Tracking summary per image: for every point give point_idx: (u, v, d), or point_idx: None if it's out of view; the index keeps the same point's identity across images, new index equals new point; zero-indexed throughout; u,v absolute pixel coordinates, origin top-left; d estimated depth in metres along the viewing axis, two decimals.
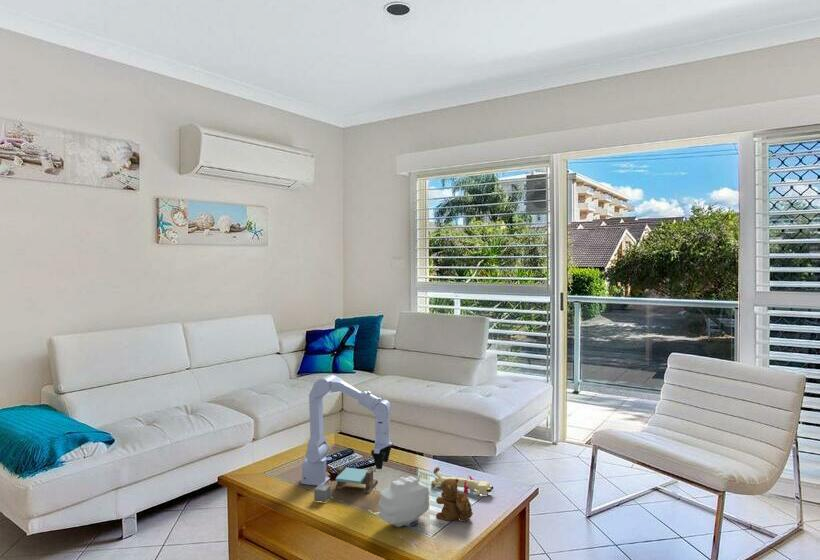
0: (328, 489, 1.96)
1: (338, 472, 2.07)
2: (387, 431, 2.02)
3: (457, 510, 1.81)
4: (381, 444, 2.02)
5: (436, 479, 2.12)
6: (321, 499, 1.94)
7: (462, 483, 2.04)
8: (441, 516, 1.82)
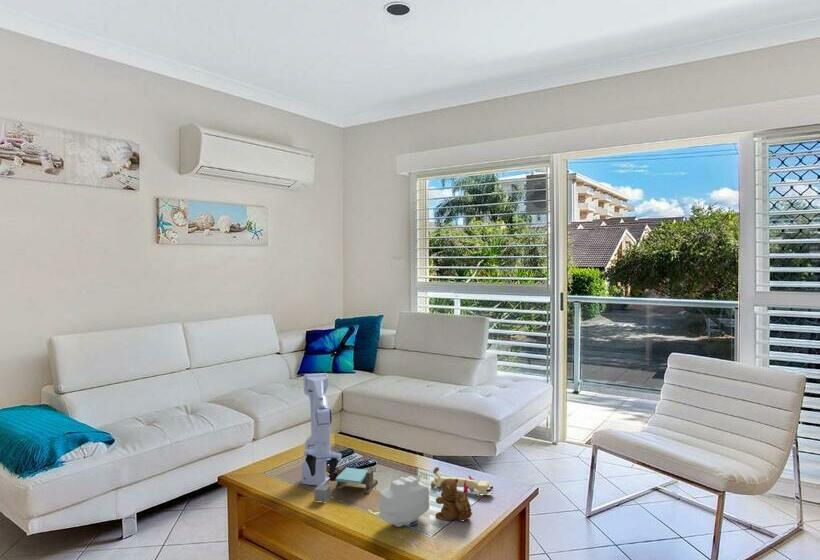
0: (328, 489, 1.96)
1: (338, 472, 2.07)
2: (320, 441, 1.93)
3: (456, 510, 1.81)
4: (315, 451, 1.96)
5: (436, 479, 2.12)
6: (321, 499, 1.94)
7: (462, 483, 2.04)
8: (440, 516, 1.83)
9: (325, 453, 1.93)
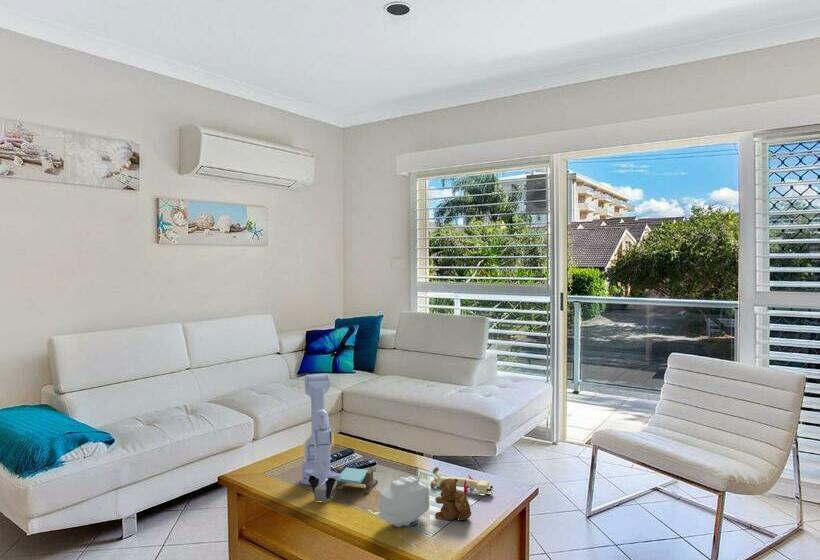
0: None
1: (338, 472, 2.07)
2: (319, 462, 1.93)
3: (456, 510, 1.81)
4: (314, 471, 1.96)
5: (435, 479, 2.12)
6: (321, 499, 1.94)
7: (462, 482, 2.04)
8: (440, 516, 1.83)
9: (325, 474, 1.93)
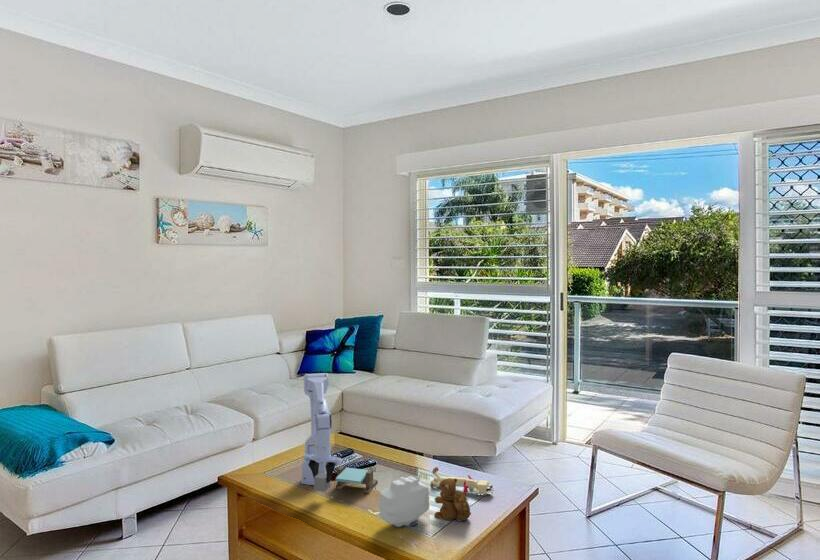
0: None
1: (338, 472, 2.07)
2: (320, 446, 1.93)
3: (455, 510, 1.82)
4: (315, 456, 1.96)
5: (435, 479, 2.12)
6: (321, 487, 1.93)
7: (462, 482, 2.05)
8: (439, 516, 1.83)
9: (325, 458, 1.93)
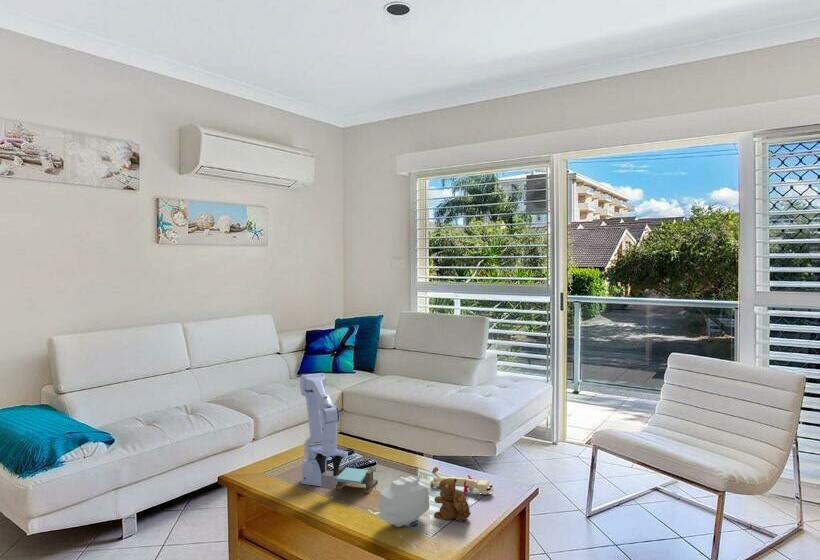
0: None
1: (338, 472, 2.07)
2: (328, 440, 1.94)
3: (455, 510, 1.82)
4: (321, 449, 1.97)
5: (435, 479, 2.12)
6: (328, 485, 1.95)
7: (462, 482, 2.05)
8: (439, 516, 1.83)
9: (332, 451, 1.94)
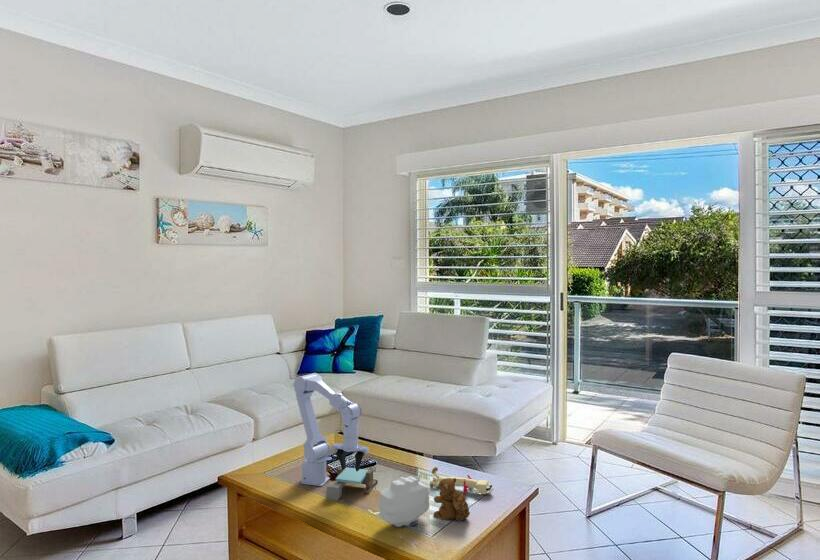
0: (340, 486, 1.98)
1: (338, 472, 2.07)
2: (353, 435, 1.99)
3: (454, 509, 1.82)
4: None
5: (434, 479, 2.12)
6: (333, 496, 1.96)
7: (461, 482, 2.05)
8: (438, 515, 1.83)
9: (353, 447, 1.99)
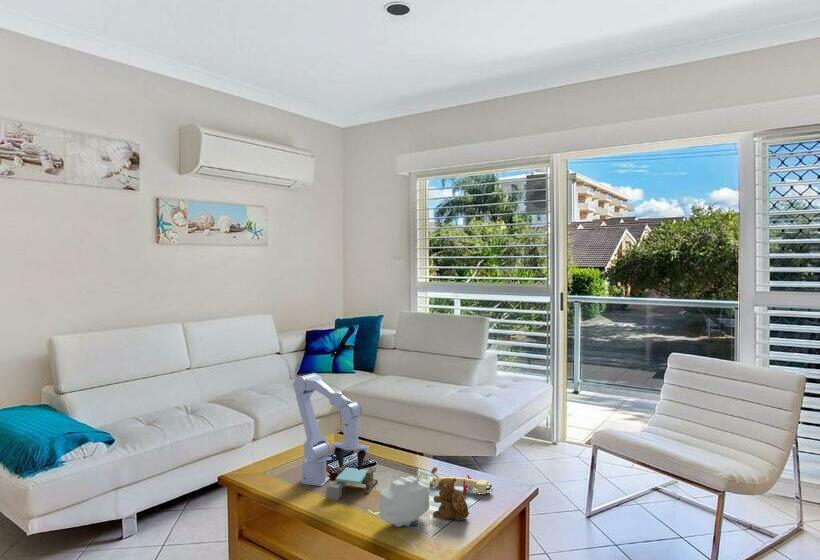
0: (340, 486, 1.98)
1: (338, 472, 2.07)
2: (353, 434, 1.99)
3: (453, 509, 1.82)
4: (343, 444, 2.02)
5: (434, 479, 2.12)
6: (333, 496, 1.96)
7: (461, 482, 2.05)
8: (437, 515, 1.84)
9: (353, 446, 1.99)
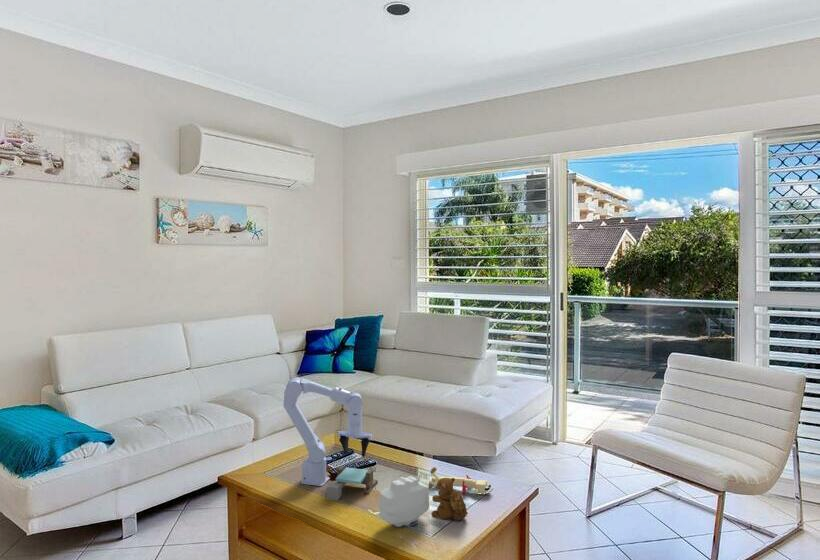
0: (340, 486, 1.98)
1: (338, 472, 2.07)
2: (361, 422, 2.13)
3: (451, 509, 1.82)
4: (348, 432, 2.14)
5: (433, 479, 2.12)
6: (333, 496, 1.96)
7: (460, 482, 2.05)
8: (436, 514, 1.84)
9: (357, 434, 2.11)
